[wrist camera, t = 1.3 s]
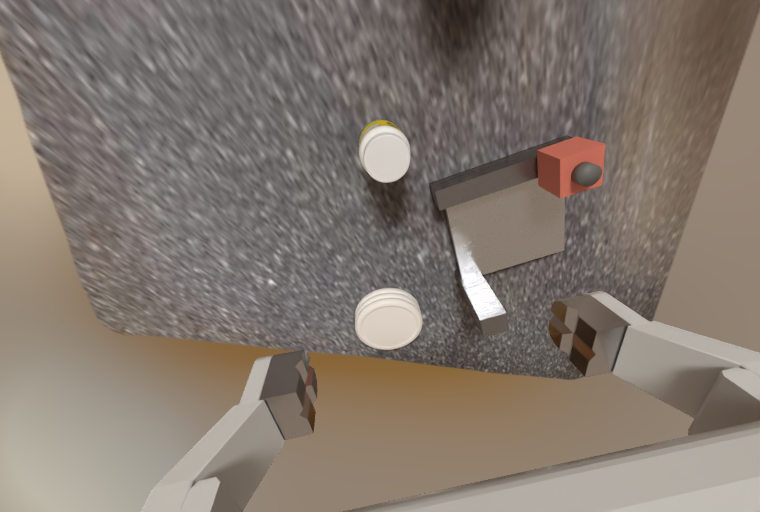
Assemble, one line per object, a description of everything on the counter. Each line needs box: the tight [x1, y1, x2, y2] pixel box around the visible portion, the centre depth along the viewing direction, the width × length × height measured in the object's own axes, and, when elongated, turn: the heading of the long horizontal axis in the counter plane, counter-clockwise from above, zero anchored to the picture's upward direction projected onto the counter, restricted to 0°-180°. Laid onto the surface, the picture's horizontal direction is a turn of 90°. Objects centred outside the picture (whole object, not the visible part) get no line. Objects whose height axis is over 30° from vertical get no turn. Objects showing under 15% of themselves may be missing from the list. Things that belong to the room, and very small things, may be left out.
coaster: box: [355, 288, 423, 350], centre depth 43 cm, size 10×10×4 cm
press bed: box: [429, 136, 574, 337], centre depth 33 cm, size 16×17×10 cm
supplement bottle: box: [359, 119, 410, 183], centre depth 28 cm, size 5×5×8 cm
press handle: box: [537, 136, 605, 198], centre depth 28 cm, size 4×4×5 cm
